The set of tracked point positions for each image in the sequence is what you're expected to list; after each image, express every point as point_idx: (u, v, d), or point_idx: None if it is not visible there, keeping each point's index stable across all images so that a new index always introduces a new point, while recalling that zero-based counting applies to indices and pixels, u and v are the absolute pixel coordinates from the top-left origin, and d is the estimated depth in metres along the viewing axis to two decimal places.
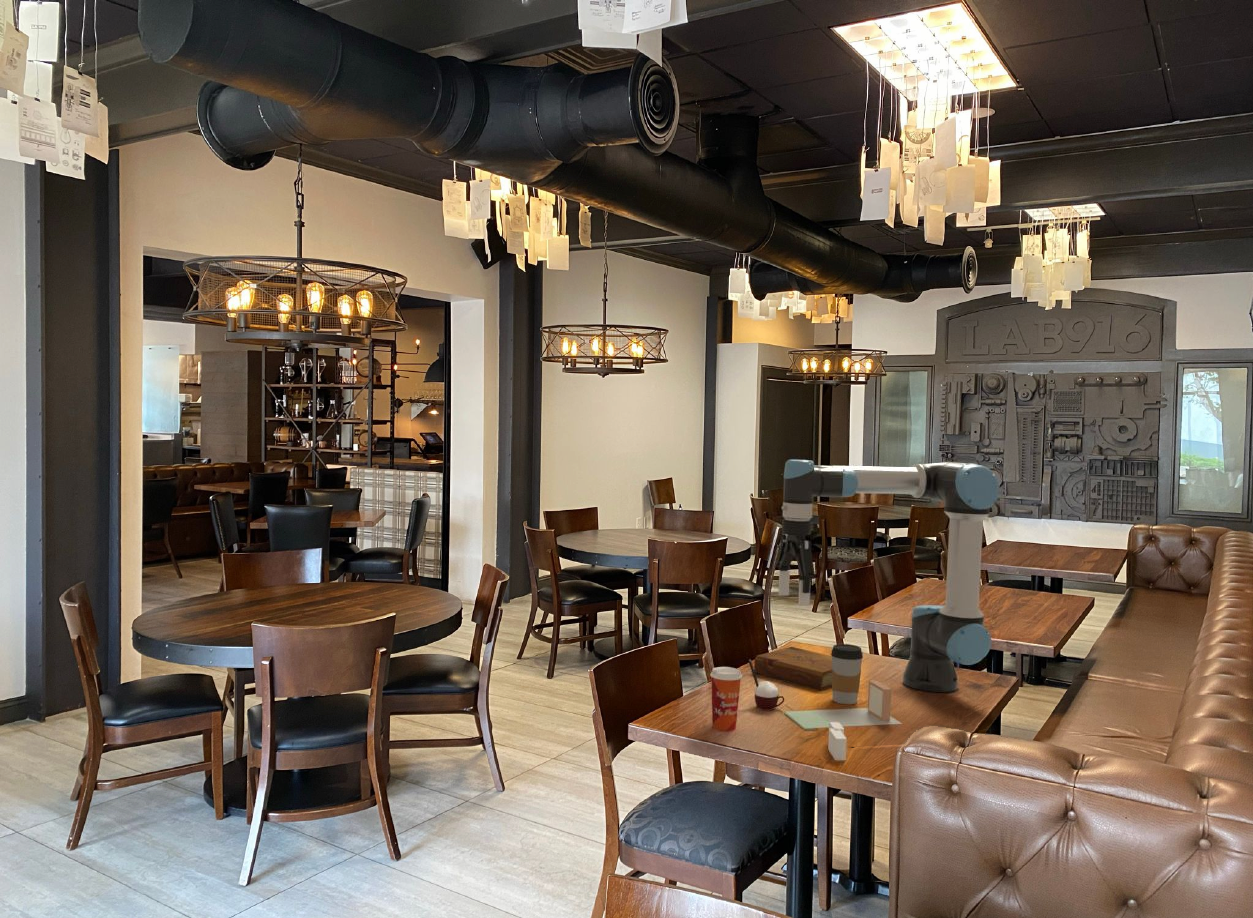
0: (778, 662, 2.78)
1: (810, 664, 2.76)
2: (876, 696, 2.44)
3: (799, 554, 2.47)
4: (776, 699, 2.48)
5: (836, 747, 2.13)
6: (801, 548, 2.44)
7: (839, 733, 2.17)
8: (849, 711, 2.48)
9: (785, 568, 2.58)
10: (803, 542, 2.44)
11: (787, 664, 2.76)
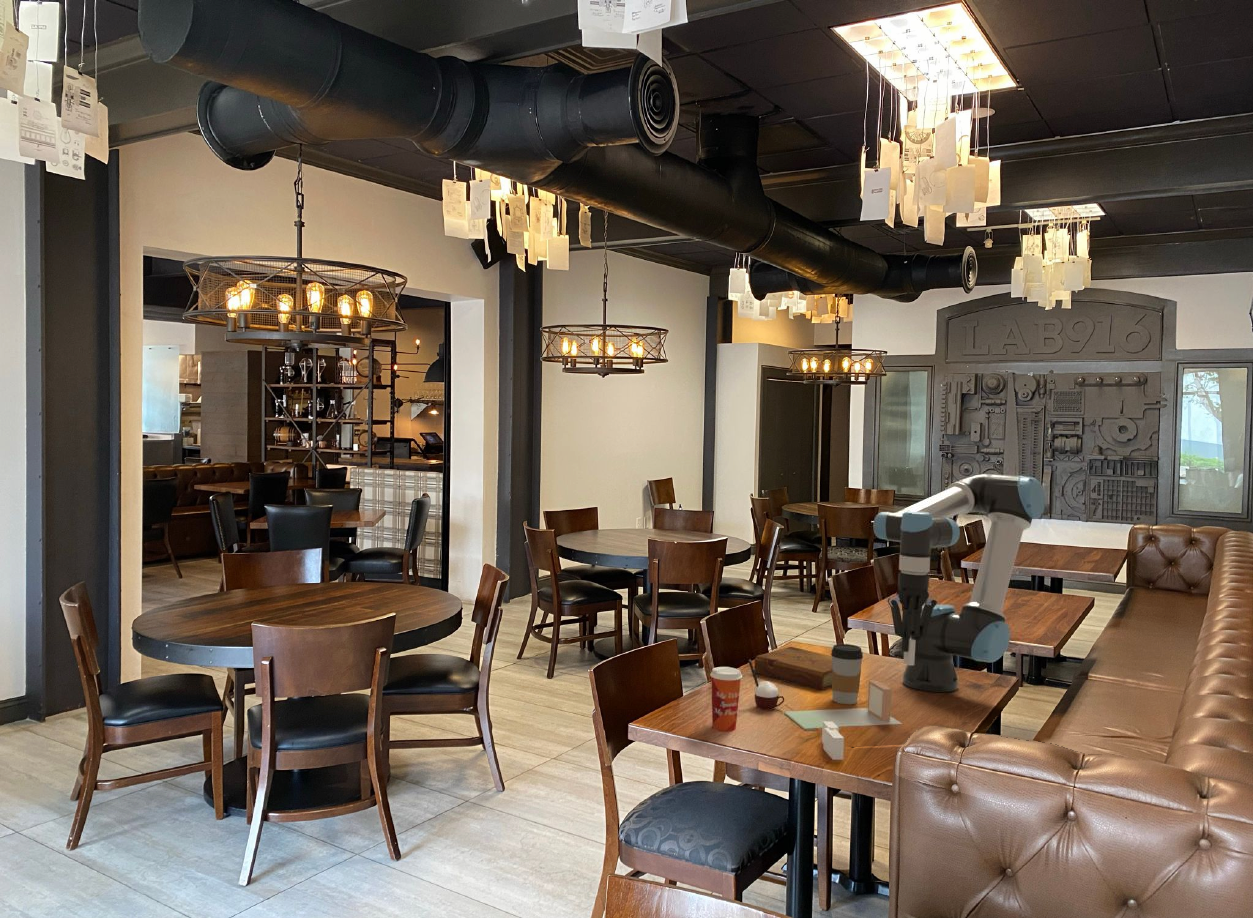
0: (778, 663, 2.78)
1: (810, 664, 2.76)
2: (876, 696, 2.44)
3: (903, 610, 2.45)
4: (776, 699, 2.48)
5: (834, 746, 2.14)
6: None
7: (836, 732, 2.17)
8: (849, 711, 2.48)
9: (913, 635, 2.45)
10: (888, 601, 2.44)
11: (787, 664, 2.76)
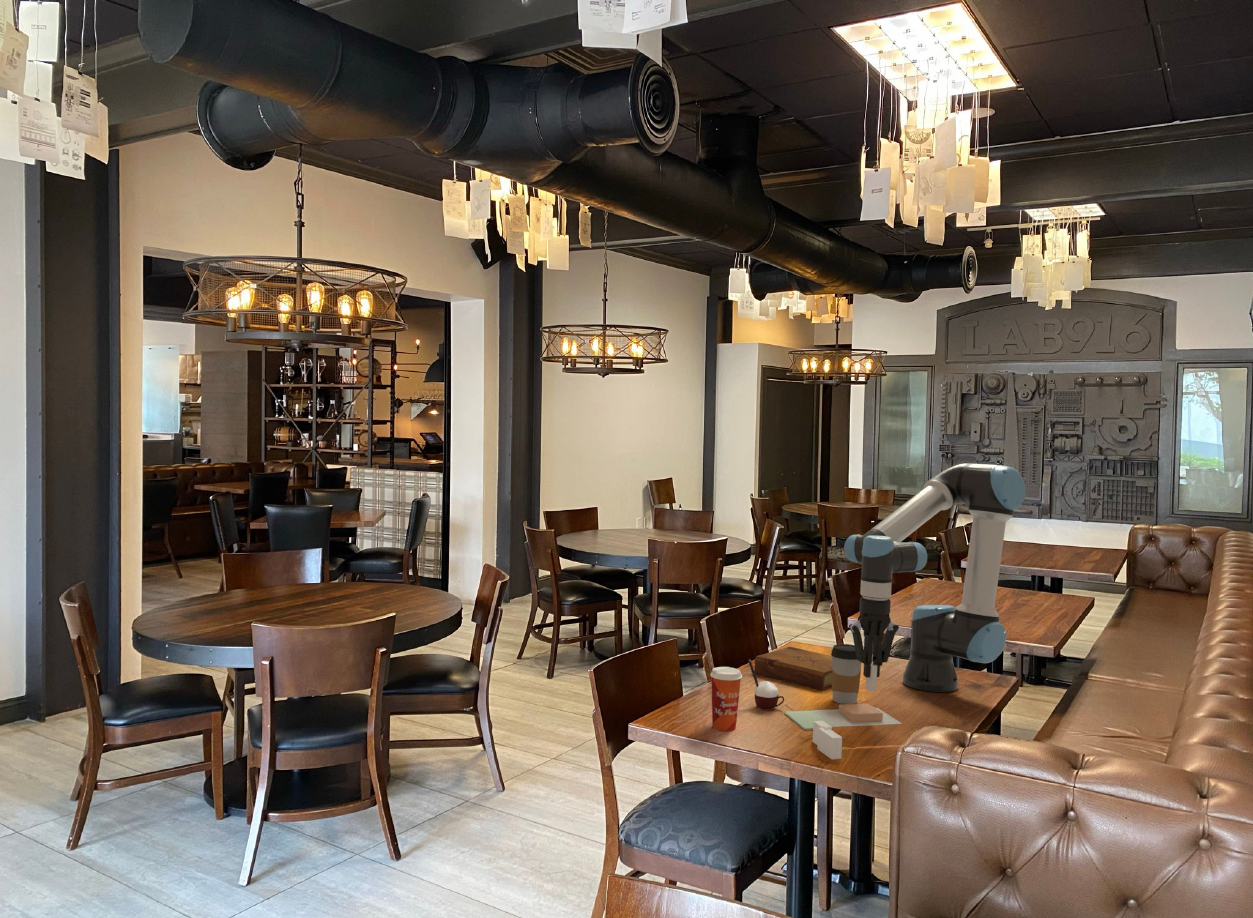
0: (779, 663, 2.78)
1: (811, 664, 2.76)
2: None
3: (865, 635, 2.43)
4: (776, 699, 2.48)
5: (832, 746, 2.14)
6: None
7: (832, 732, 2.17)
8: None
9: (875, 660, 2.43)
10: (849, 627, 2.42)
11: (788, 664, 2.76)
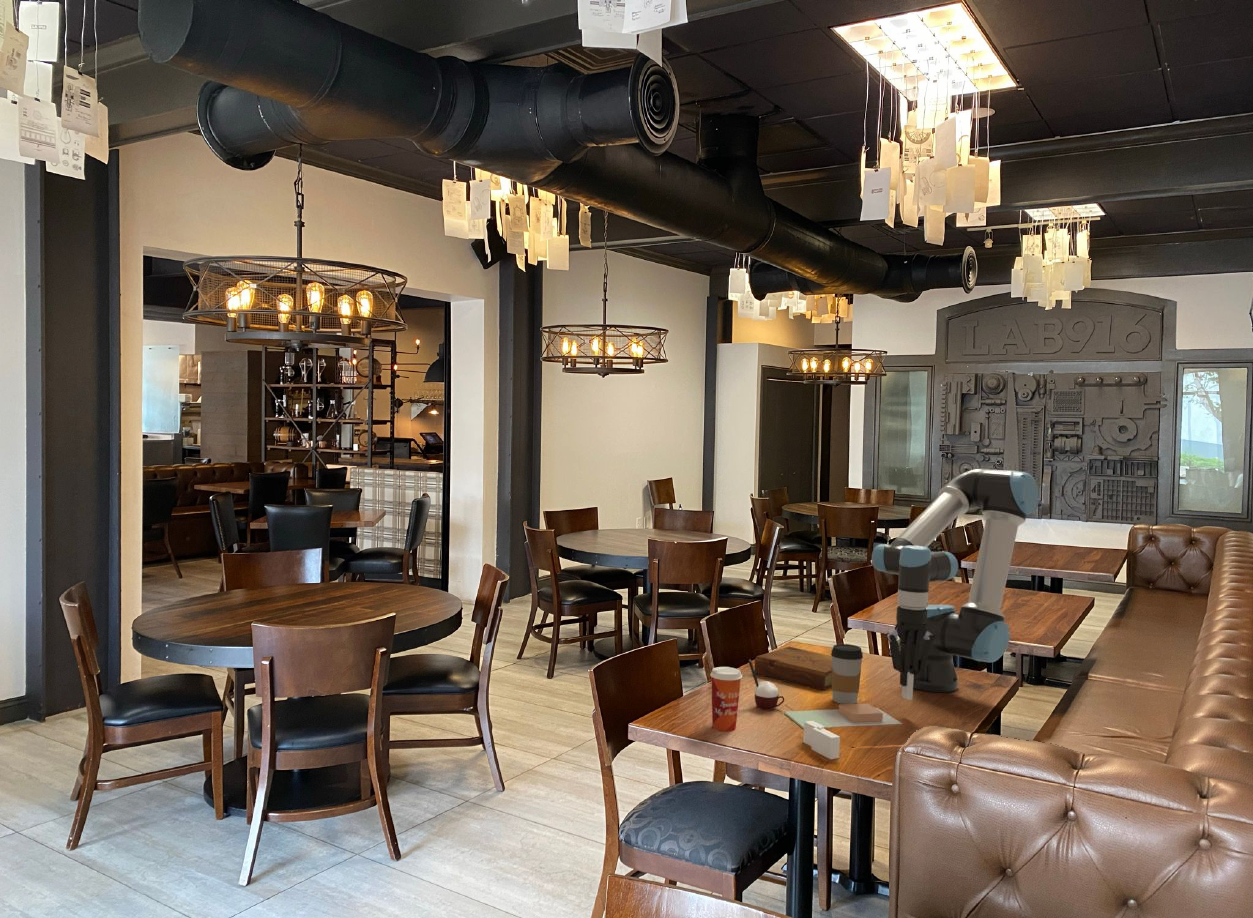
0: (779, 663, 2.77)
1: (811, 664, 2.76)
2: None
3: (902, 644, 2.46)
4: (776, 699, 2.48)
5: (831, 746, 2.14)
6: None
7: (827, 732, 2.17)
8: None
9: (912, 669, 2.46)
10: (886, 636, 2.45)
11: (788, 664, 2.75)
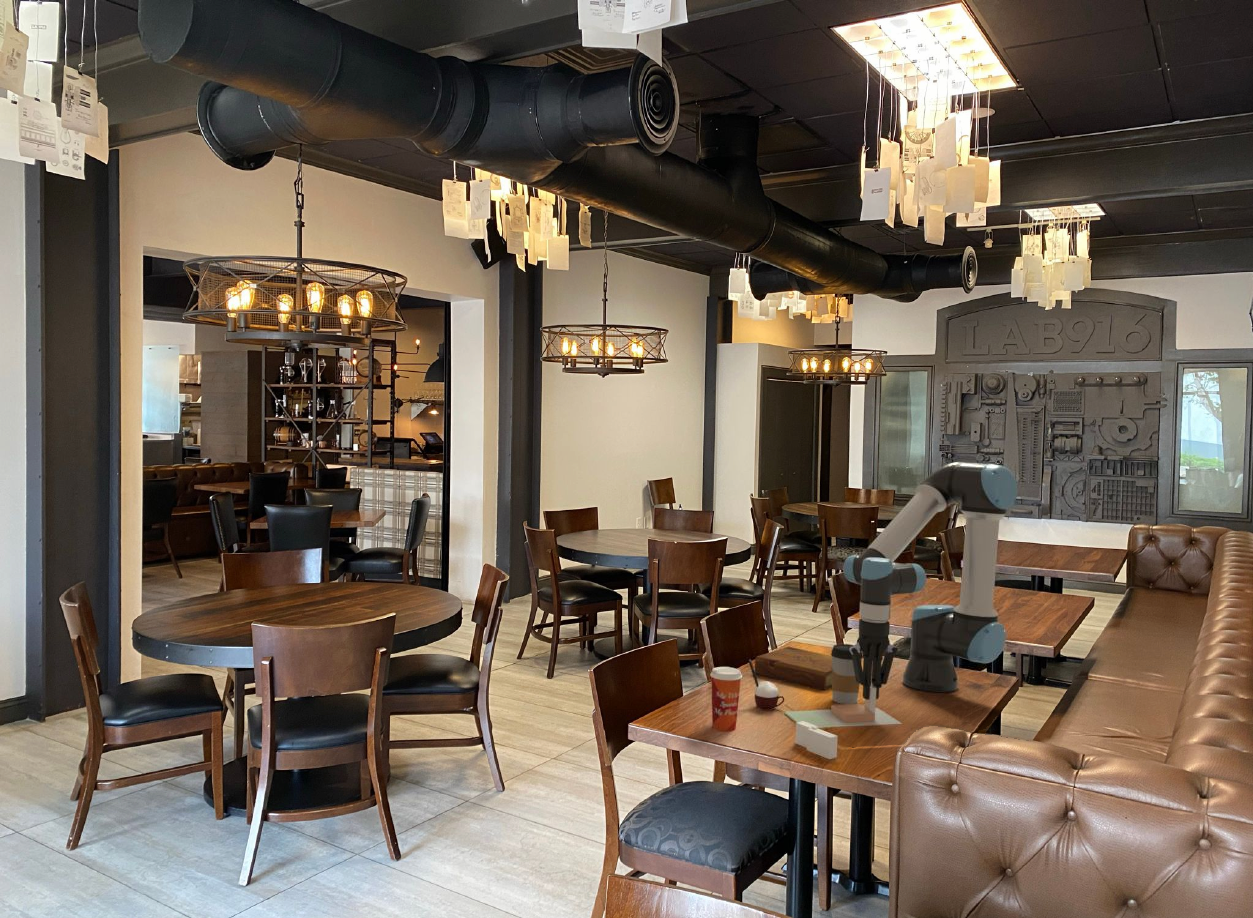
0: (779, 663, 2.77)
1: (812, 664, 2.76)
2: None
3: (864, 657, 2.44)
4: (776, 699, 2.48)
5: (830, 746, 2.14)
6: None
7: (823, 732, 2.17)
8: None
9: (874, 682, 2.44)
10: (848, 649, 2.43)
11: (789, 664, 2.75)
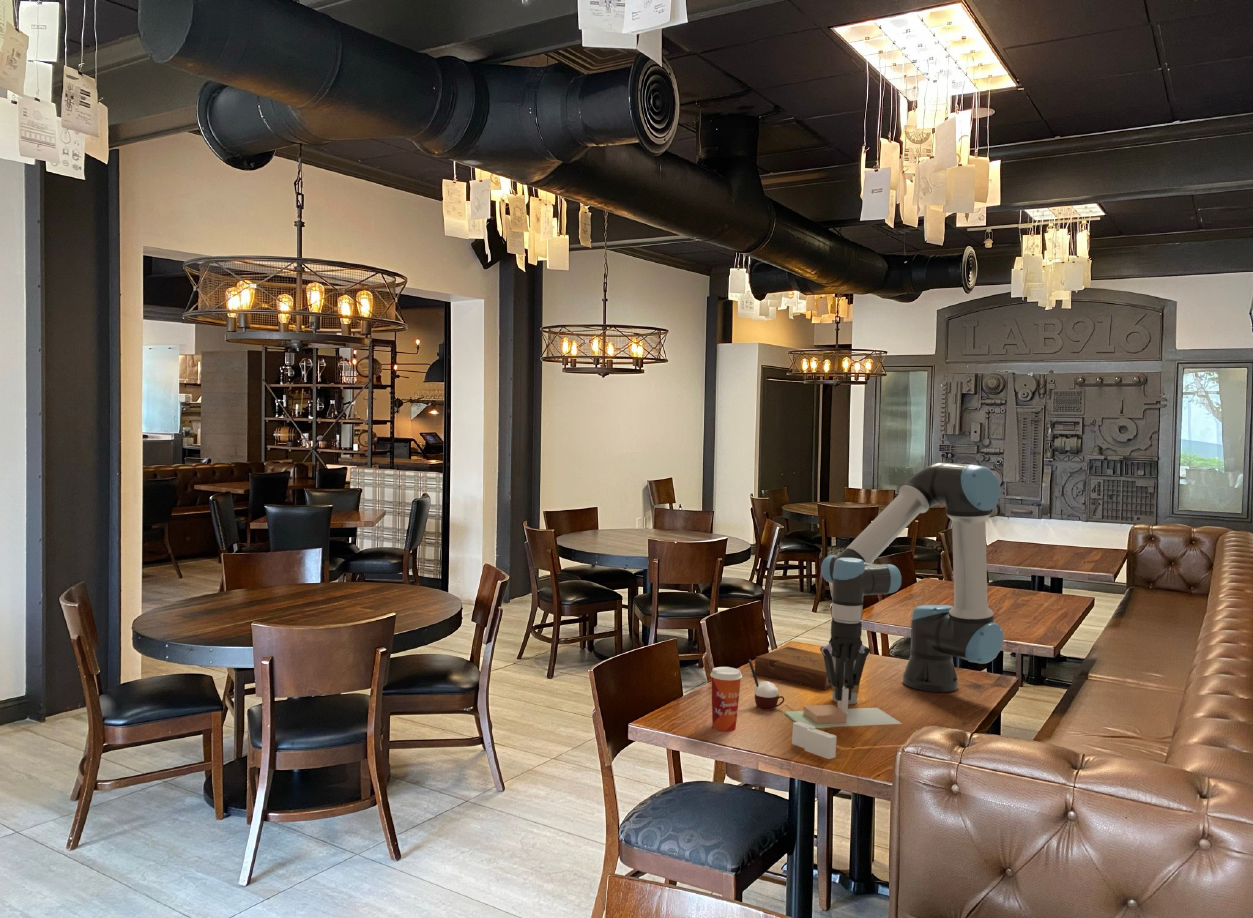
0: (780, 663, 2.77)
1: (812, 664, 2.76)
2: None
3: (836, 658, 2.42)
4: (776, 699, 2.48)
5: (830, 746, 2.14)
6: None
7: (822, 732, 2.17)
8: (849, 711, 2.48)
9: (847, 683, 2.42)
10: (820, 650, 2.41)
11: (789, 664, 2.75)
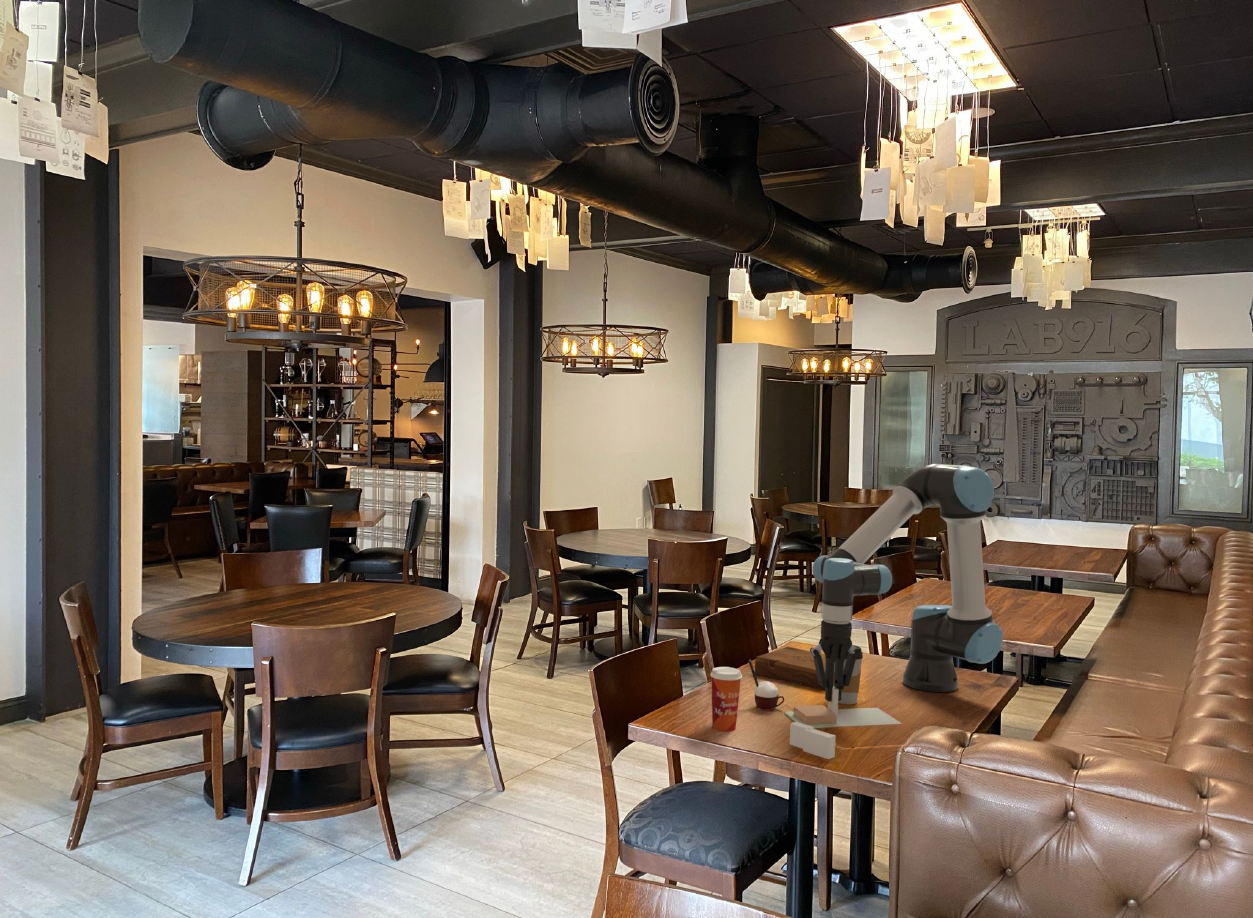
0: (780, 663, 2.77)
1: (812, 664, 2.76)
2: None
3: (826, 659, 2.41)
4: (776, 699, 2.48)
5: (829, 746, 2.14)
6: None
7: (820, 732, 2.17)
8: (849, 711, 2.48)
9: (837, 684, 2.41)
10: (810, 650, 2.40)
11: (789, 664, 2.75)
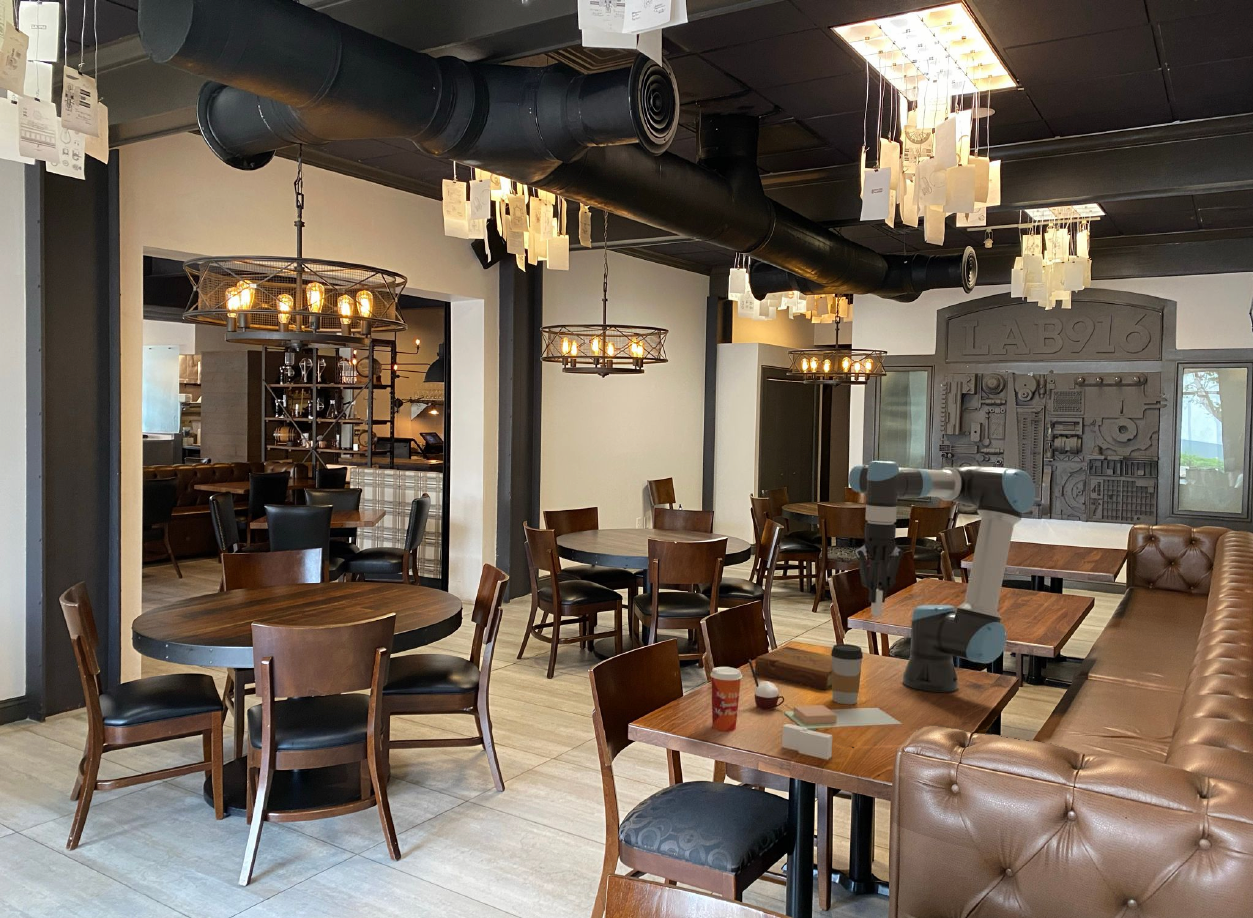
0: (780, 663, 2.77)
1: (812, 664, 2.76)
2: None
3: (870, 561, 2.43)
4: (776, 699, 2.48)
5: (828, 746, 2.14)
6: None
7: (816, 732, 2.17)
8: (849, 711, 2.48)
9: (881, 586, 2.43)
10: (854, 552, 2.42)
11: (790, 665, 2.75)
